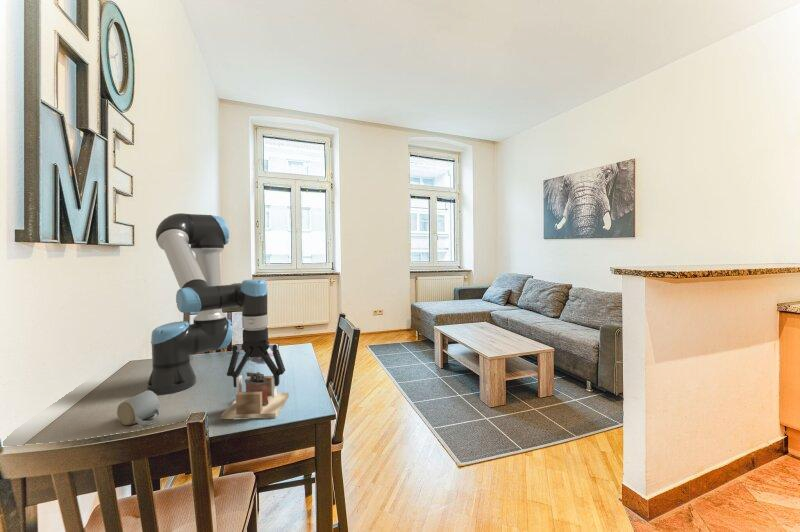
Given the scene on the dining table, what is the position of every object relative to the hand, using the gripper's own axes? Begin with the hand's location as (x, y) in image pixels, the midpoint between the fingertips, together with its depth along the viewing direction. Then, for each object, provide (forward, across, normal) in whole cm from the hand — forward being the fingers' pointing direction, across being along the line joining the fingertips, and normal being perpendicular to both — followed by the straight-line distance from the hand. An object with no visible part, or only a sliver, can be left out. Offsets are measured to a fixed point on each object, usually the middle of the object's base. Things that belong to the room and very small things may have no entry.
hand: (257, 396), depth 111 cm
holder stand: (+4, 0, 0) cm, 4 cm away
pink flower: (+4, -15, +50) cm, 52 cm away
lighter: (+2, 0, 0) cm, 2 cm away
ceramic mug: (+4, -31, -6) cm, 32 cm away
